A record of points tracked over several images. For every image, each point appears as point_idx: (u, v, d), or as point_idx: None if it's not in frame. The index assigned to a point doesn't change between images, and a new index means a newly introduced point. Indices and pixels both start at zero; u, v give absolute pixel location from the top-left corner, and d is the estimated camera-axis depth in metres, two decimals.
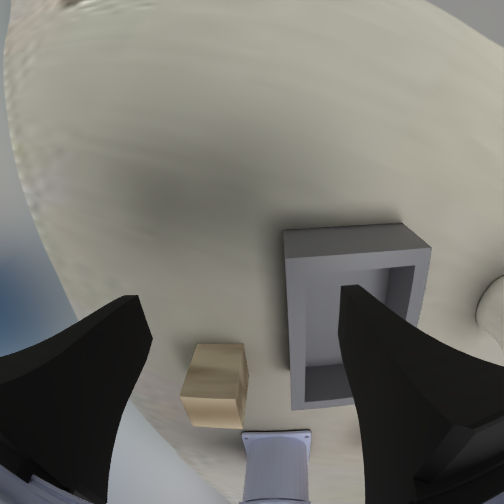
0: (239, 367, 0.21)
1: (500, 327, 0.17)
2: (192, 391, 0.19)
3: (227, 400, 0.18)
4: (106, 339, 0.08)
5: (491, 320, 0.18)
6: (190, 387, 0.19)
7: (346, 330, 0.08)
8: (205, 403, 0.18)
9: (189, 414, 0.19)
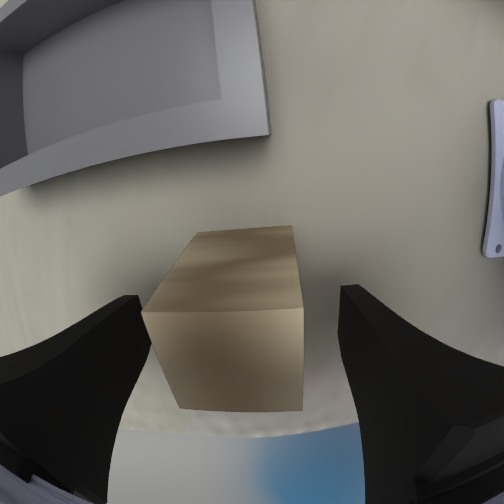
0: (180, 260, 0.10)
1: None
2: None
3: (155, 330, 0.07)
4: (106, 339, 0.08)
5: None
6: None
7: (346, 330, 0.08)
8: (183, 374, 0.08)
9: (246, 409, 0.08)
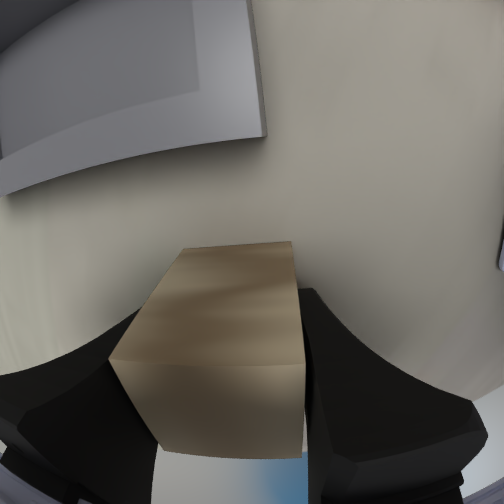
0: (160, 286, 0.08)
1: None
2: None
3: (126, 378, 0.05)
4: None
5: None
6: None
7: None
8: (163, 422, 0.06)
9: (238, 456, 0.06)
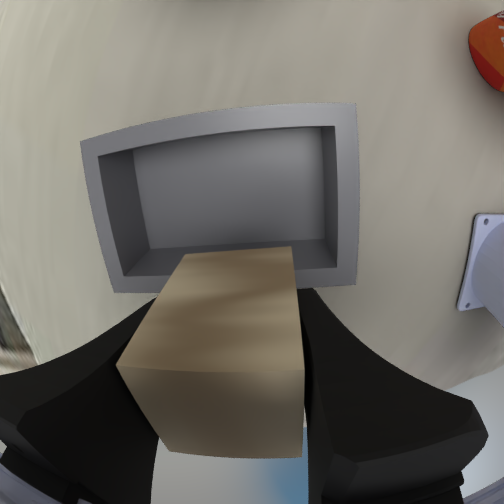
0: (163, 292, 0.08)
1: None
2: None
3: (133, 383, 0.06)
4: None
5: None
6: None
7: None
8: (169, 424, 0.06)
9: (241, 455, 0.07)
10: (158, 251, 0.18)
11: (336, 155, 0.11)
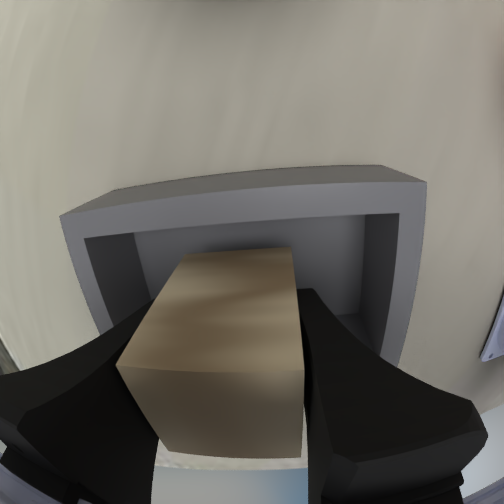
0: (163, 292, 0.08)
1: None
2: None
3: (133, 383, 0.06)
4: None
5: None
6: None
7: None
8: (168, 424, 0.06)
9: (240, 455, 0.07)
10: None
11: (396, 249, 0.09)
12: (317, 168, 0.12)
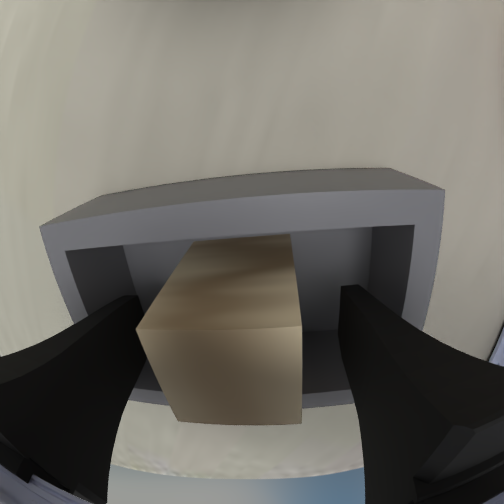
0: (176, 272, 0.10)
1: None
2: None
3: (150, 346, 0.07)
4: (106, 339, 0.08)
5: None
6: None
7: (346, 330, 0.08)
8: (180, 389, 0.07)
9: (245, 422, 0.08)
10: None
11: (409, 264, 0.08)
12: (321, 172, 0.10)
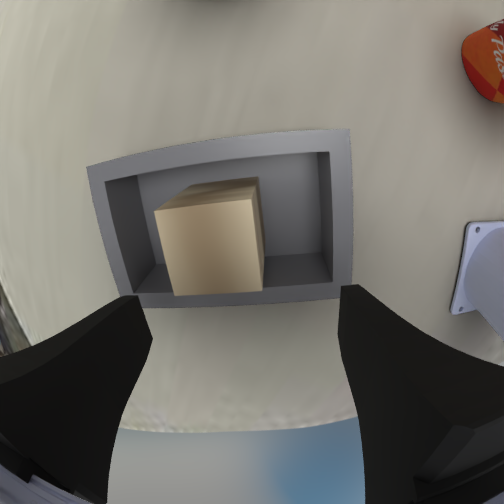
0: (179, 194, 0.14)
1: None
2: None
3: (162, 223, 0.12)
4: (106, 339, 0.08)
5: None
6: None
7: (346, 330, 0.08)
8: (178, 259, 0.12)
9: (222, 290, 0.13)
10: (164, 267, 0.19)
11: (331, 179, 0.12)
12: None
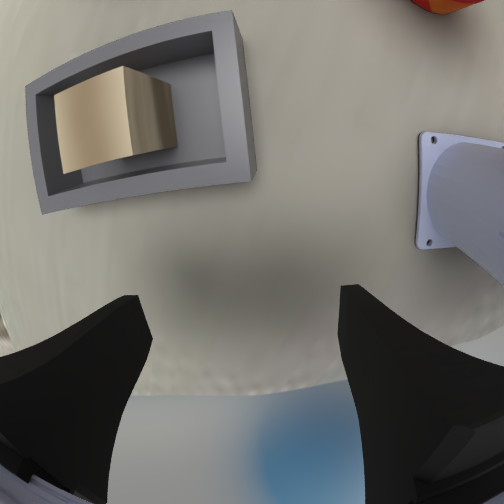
0: None
1: None
2: None
3: (58, 104, 0.10)
4: (106, 339, 0.08)
5: None
6: None
7: (346, 330, 0.08)
8: (66, 134, 0.10)
9: (99, 159, 0.11)
10: (87, 182, 0.17)
11: (215, 54, 0.11)
12: None
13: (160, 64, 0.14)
